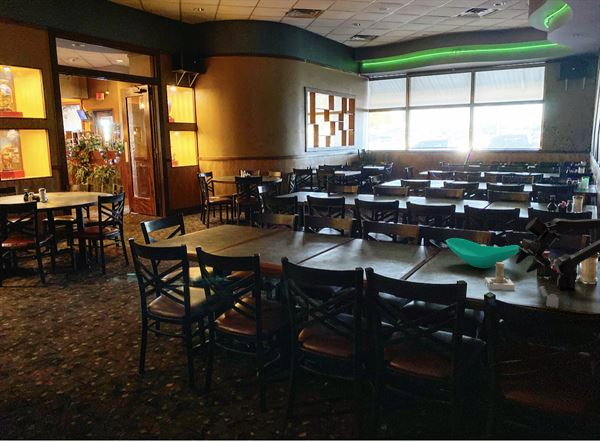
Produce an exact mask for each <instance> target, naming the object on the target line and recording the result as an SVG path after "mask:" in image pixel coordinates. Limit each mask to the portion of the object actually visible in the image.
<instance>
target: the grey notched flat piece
mask: <svg viewBox="0 0 600 442" xmlns="http://www.w3.org/2000/svg"><path fill="white" fill-rule="evenodd" d="M539 289H540V292H541V294H542V297H545V298H546V305H545V306H546V307H549V306H550V308H554V307H555V309H558V308H559V299H560V297H559V296H557V295H556V294H555V293H550V294H548V292H547V290H546V287H545V286H544V285H542V286H540V287H539Z"/></svg>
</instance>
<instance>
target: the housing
mask: <svg viewBox="0 0 600 442" xmlns="http://www.w3.org/2000/svg"><path fill="white" fill-rule="evenodd" d="M484 283H485V285H486V284H487V285H486V287H487V288H488V287H489V288H488V290H493V289H503V290H502V291H515V286H516V285H515V283H514V282H513V281H512V280H511V279H510V276H504V278H503V283H495V277H484Z"/></svg>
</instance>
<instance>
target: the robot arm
mask: <svg viewBox="0 0 600 442" xmlns="http://www.w3.org/2000/svg"><path fill="white" fill-rule="evenodd" d="M586 229H600V218H592V219H591V218H590V219H588V218H586V219H566V218H553V219H552V220H551V221H549V222H545V223H544V222H542V221H541V220H540V219H539V218H537V217H535V218H534V219H532V220H530V221H529V222H528V223H527V224H526V226H525V230H526V231H527V232H529V233H530V234H531V235H532V234H533V235H534V236H535V237H538V238H537V239H536V238H534V239H533V240H531V239H526V238H525V239H524V238H523V239H522V240H521V241H520V242H519V243H518V244H517V245H518V246H519V247H520V248H519V247H518V248H519V252H518V256H517V257H516V261H515V264H517V265H519V264H520V263H521V262H523V261H524V260H525V259H526V258H528V257H529V256H530V255H532V256H534V258H532V263H531V264H530V265H529V267H528V268H527V270H526V271H525V272H526V273H527V274H529V273H531V272H534V271H536V270H539V269H542V268H546V267H547V268H548V267H550V265H551V261H550V260H549V259H547V258H546V257H545V256H544V253H545V252H546V251H549V250H550V247H551V245H552V244H553V243H554V242H555V240H559V241H562V233H568V232H571V231H574V230H586ZM598 253H600V239H599V240H596V241H595V242H593V243H591V244H589V245H587V246H586V247H584V248H582V249H581V250H579V251H577V252H575V253H574V254H570V255H569V254H567V253H564V254H562V255H561V256H559V257H557V259H556V260H555V262H554V267H555V269H556V270H557V271H558V273H559V274H558V275H559V276H557V282H556V283H557V287H558V289H559V290H567V291H576V278H577V277H578V275H579V273H578V272H577V271H576V270H575V269H576V268H577V267H578V266H579V265H580V264H581V263H582V262H584V261H586V260H588V259H589V258H592V257H594V256H595V255H596V254H598Z"/></svg>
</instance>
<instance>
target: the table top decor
mask: <svg viewBox="0 0 600 442" xmlns="http://www.w3.org/2000/svg"><path fill="white" fill-rule="evenodd" d="M445 242H446V245H447V247H448V248H449V249H450V250H451V251H452V252H453V253H454V254H455V255H456V256H458V257H459V258H460V259H461V260H462V261H464V262H465V263H466V264H468V265H469V266H471V267H474V268H477V269H478V268H479V269H490V268H492V267H494V266H496V262H503V263H504V262H505V261H507V260H508V259H510V258H512V257H514V256H516V255H517V254H519V248H520V247H519V246H518V244H517V245H516V244H514V245H512V244H511V245H507V246H506V245H505V246H500V247H498V246H492V245H482V244H479V243H476V242H473V241H472V240H468V239H463V238H457V237H453V238H452V237H451V238H448V239H446V240H445ZM518 247H519V248H518Z"/></svg>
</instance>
